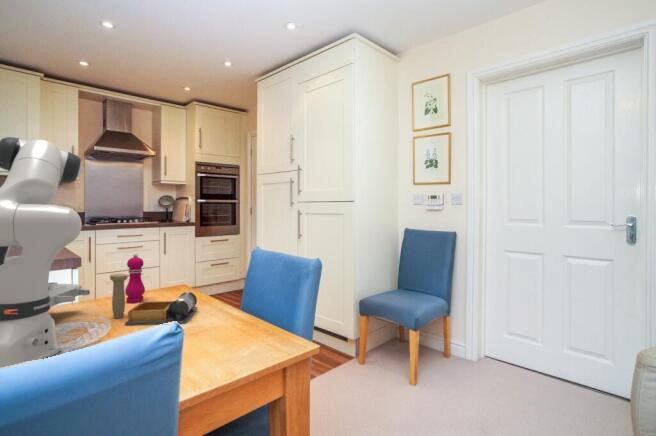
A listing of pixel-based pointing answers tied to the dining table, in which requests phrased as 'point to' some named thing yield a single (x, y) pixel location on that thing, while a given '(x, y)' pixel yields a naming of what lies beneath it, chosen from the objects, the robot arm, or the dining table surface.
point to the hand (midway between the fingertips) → (81, 295)
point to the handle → (118, 294)
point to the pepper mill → (135, 280)
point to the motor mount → (163, 311)
